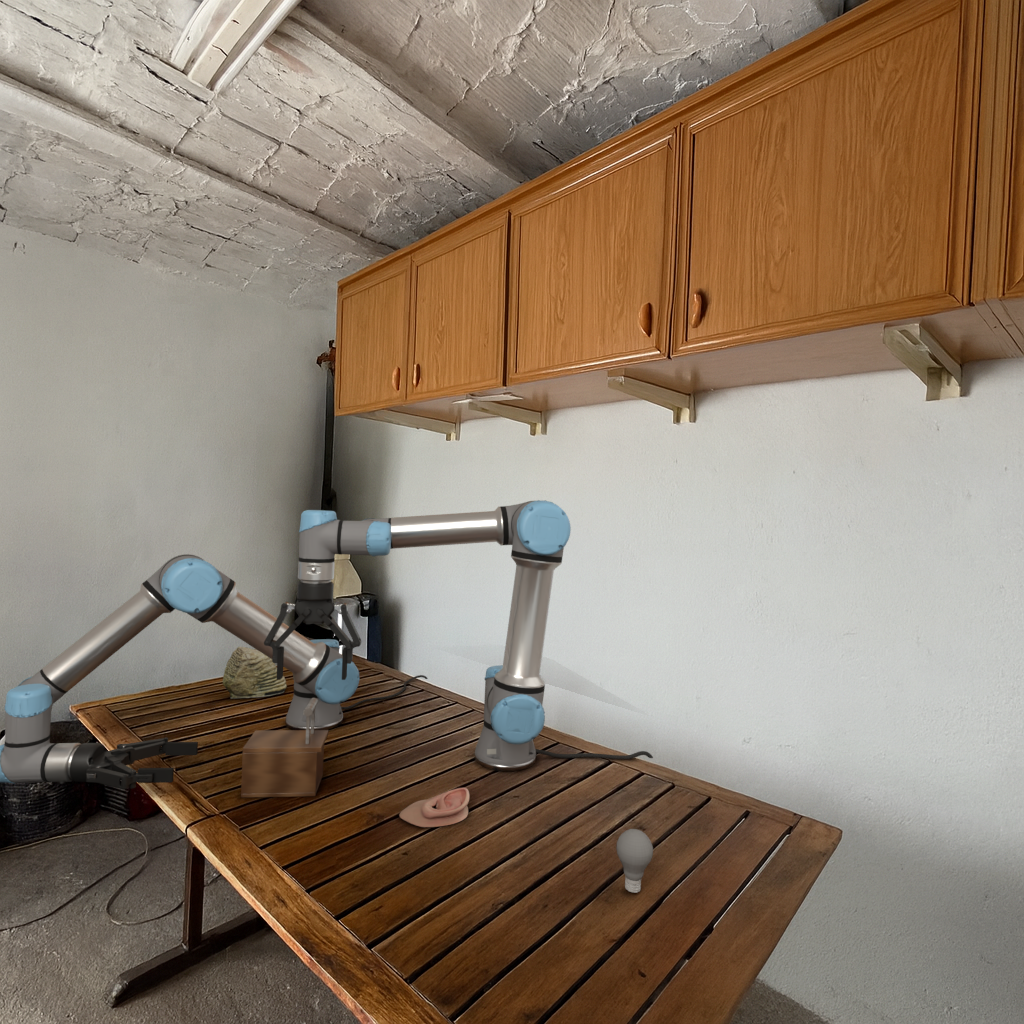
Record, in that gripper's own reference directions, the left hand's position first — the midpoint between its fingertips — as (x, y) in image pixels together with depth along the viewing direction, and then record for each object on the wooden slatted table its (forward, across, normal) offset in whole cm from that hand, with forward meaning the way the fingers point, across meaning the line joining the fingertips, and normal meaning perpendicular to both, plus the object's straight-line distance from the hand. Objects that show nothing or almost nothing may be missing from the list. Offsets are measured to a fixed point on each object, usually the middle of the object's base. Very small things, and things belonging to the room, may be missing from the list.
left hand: (185, 761), depth 135 cm
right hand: (+25, 0, +18) cm, 31 cm away
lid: (+21, 0, +4) cm, 21 cm away
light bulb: (+85, +41, -6) cm, 95 cm away
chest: (+20, 0, -6) cm, 21 cm away
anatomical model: (+53, +14, -6) cm, 55 cm away
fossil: (-2, -64, -6) cm, 64 cm away
